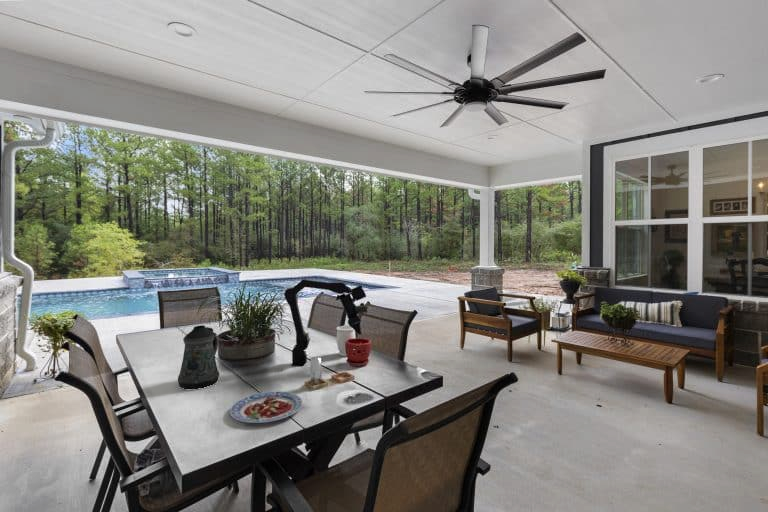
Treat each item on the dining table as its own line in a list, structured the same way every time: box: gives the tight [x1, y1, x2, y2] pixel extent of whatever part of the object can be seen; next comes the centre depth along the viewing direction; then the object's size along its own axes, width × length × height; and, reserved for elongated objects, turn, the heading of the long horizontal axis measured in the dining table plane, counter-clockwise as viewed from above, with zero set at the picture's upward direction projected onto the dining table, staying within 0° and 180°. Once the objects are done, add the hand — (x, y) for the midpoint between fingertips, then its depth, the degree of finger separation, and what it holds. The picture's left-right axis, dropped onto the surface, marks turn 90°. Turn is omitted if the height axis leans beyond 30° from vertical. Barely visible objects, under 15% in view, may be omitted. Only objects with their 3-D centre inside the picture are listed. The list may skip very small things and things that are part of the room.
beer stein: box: [177, 324, 220, 390], centre depth 168 cm, size 16×19×25 cm
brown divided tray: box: [302, 371, 357, 392], centre depth 166 cm, size 22×8×2 cm, turn 126°
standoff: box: [310, 356, 322, 386], centre depth 162 cm, size 4×4×12 cm
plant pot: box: [345, 337, 372, 367], centre depth 193 cm, size 13×13×12 cm
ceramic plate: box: [229, 390, 304, 424], centre depth 140 cm, size 26×26×3 cm
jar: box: [336, 325, 356, 357], centre depth 208 cm, size 11×10×15 cm
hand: (360, 332), depth 195 cm, fingers open, 9 cm apart
